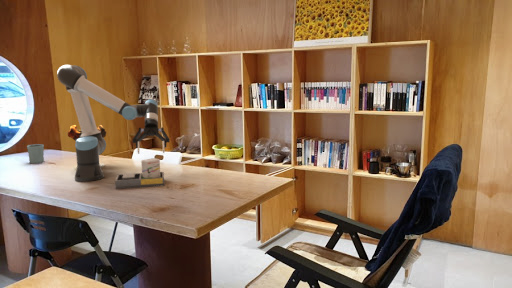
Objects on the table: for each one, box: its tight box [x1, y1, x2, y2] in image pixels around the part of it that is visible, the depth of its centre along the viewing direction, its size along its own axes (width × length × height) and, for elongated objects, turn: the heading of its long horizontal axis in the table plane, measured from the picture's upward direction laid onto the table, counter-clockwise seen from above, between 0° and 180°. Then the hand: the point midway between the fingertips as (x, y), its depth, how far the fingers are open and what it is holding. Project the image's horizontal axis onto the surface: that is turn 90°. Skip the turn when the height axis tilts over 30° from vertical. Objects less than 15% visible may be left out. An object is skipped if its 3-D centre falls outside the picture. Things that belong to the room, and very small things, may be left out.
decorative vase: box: [67, 124, 107, 170], centre depth 254 cm, size 21×23×28 cm
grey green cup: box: [26, 143, 45, 165], centre depth 271 cm, size 10×10×12 cm
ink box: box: [140, 157, 161, 179], centre depth 211 cm, size 8×5×12 cm, turn 137°
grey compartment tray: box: [114, 171, 165, 190], centre depth 210 cm, size 24×14×5 cm, turn 104°
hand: (151, 152), depth 218 cm, fingers open, 13 cm apart
